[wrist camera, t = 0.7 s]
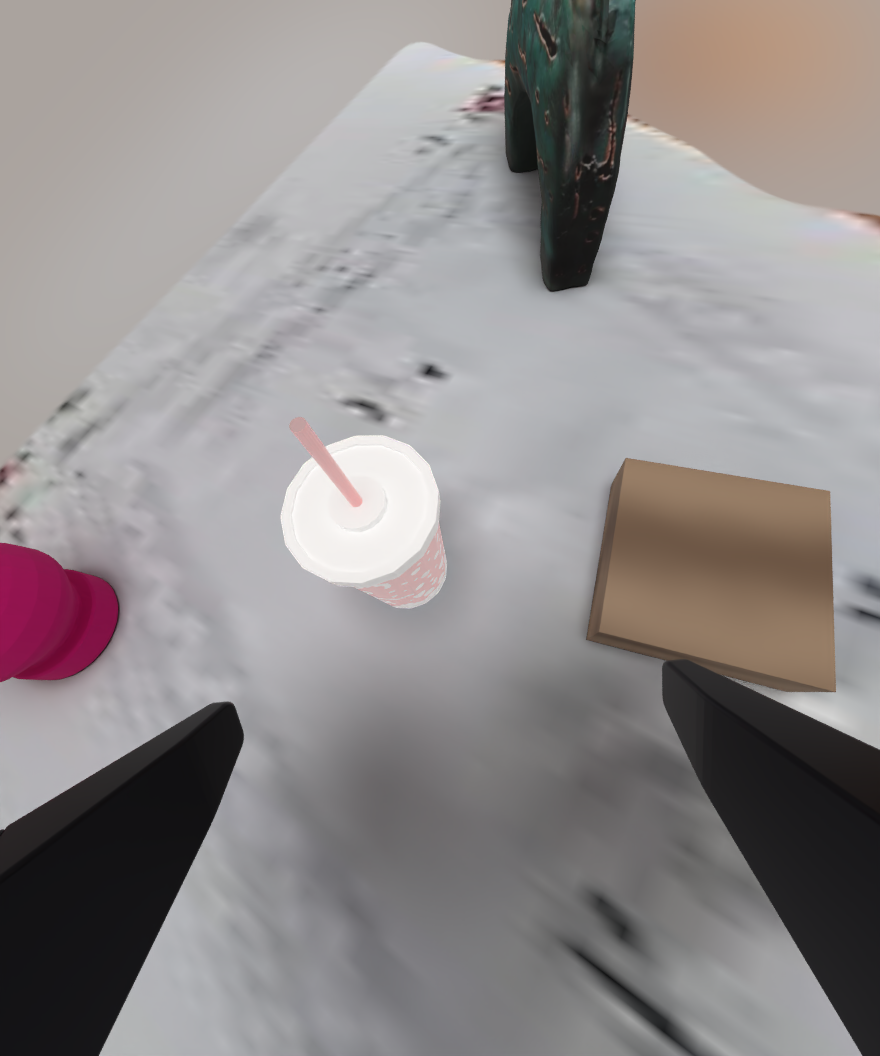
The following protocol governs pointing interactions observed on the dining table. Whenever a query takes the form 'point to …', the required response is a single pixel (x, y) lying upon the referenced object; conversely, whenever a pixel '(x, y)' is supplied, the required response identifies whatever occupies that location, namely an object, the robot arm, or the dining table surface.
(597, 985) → the dining table surface
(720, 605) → the walnut block
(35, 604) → the pepper mill
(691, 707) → the robot arm
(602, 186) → the ceramic cat
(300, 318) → the dining table surface
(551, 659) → the dining table surface
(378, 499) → the beverage cup
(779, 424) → the dining table surface
